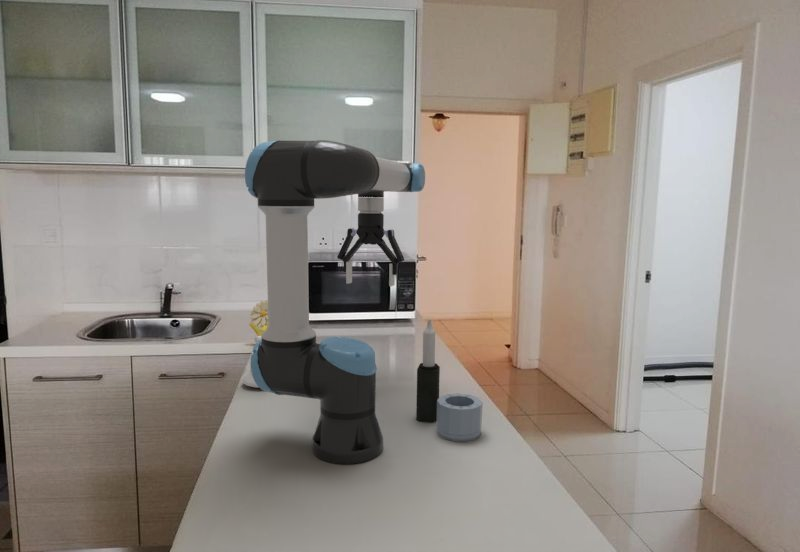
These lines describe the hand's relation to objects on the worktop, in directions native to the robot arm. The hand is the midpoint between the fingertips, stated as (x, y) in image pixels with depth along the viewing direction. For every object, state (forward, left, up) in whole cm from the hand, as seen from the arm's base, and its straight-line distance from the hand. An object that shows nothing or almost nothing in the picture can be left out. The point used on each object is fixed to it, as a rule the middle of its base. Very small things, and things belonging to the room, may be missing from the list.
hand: (370, 284), depth 167 cm
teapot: (+19, +43, -28) cm, 55 cm away
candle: (-27, -25, -28) cm, 46 cm away
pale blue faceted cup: (-33, -34, -28) cm, 55 cm away
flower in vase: (-19, +25, -28) cm, 42 cm away
